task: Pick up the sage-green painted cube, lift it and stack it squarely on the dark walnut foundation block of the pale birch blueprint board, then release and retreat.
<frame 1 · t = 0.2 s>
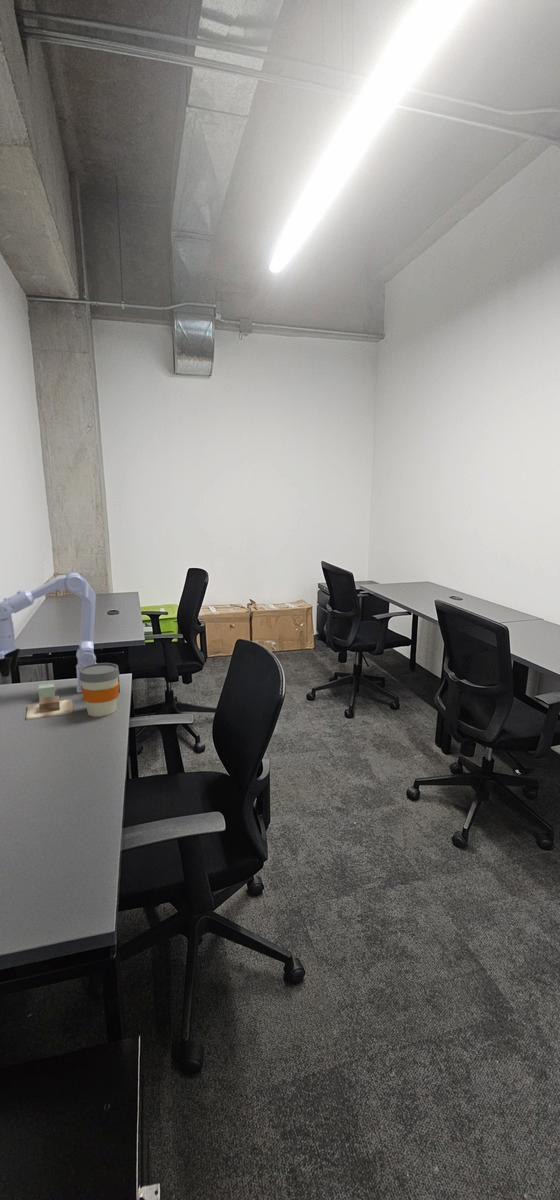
hand: (9, 672, 178), 10 cm above the table, tool pointing down, fingers open, 7 cm apart
box: (107, 695, 184), on the table
sage cube: (47, 698, 181), on the table
baseplate: (50, 710, 170), on the table
reusable coffee cup: (101, 711, 170), on the table
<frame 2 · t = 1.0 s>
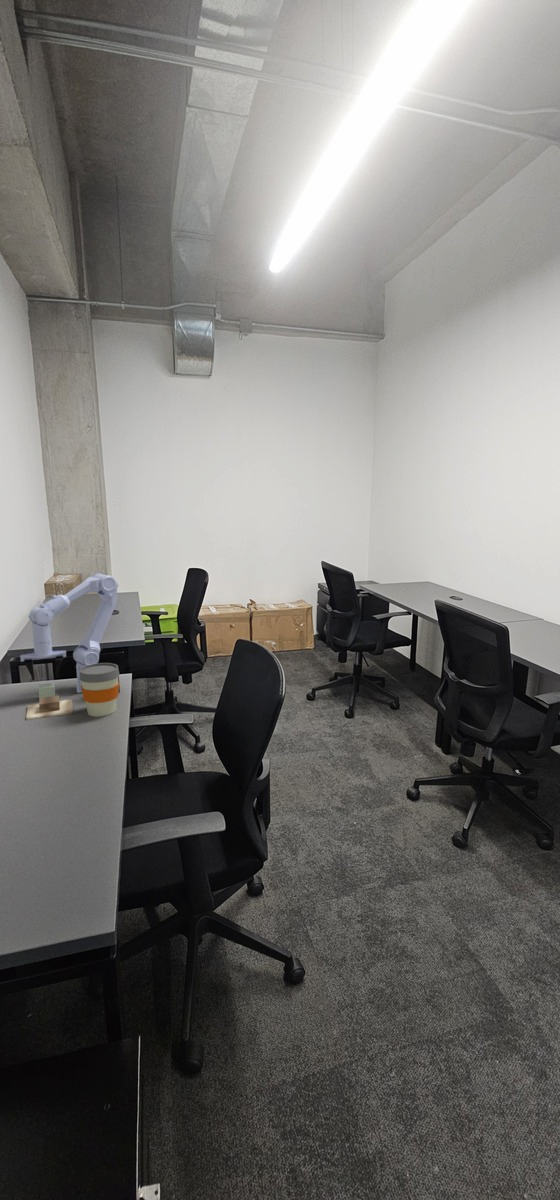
hand: (45, 678, 180), 8 cm above the table, tool pointing down, fingers open, 7 cm apart
nothing on the table moved.
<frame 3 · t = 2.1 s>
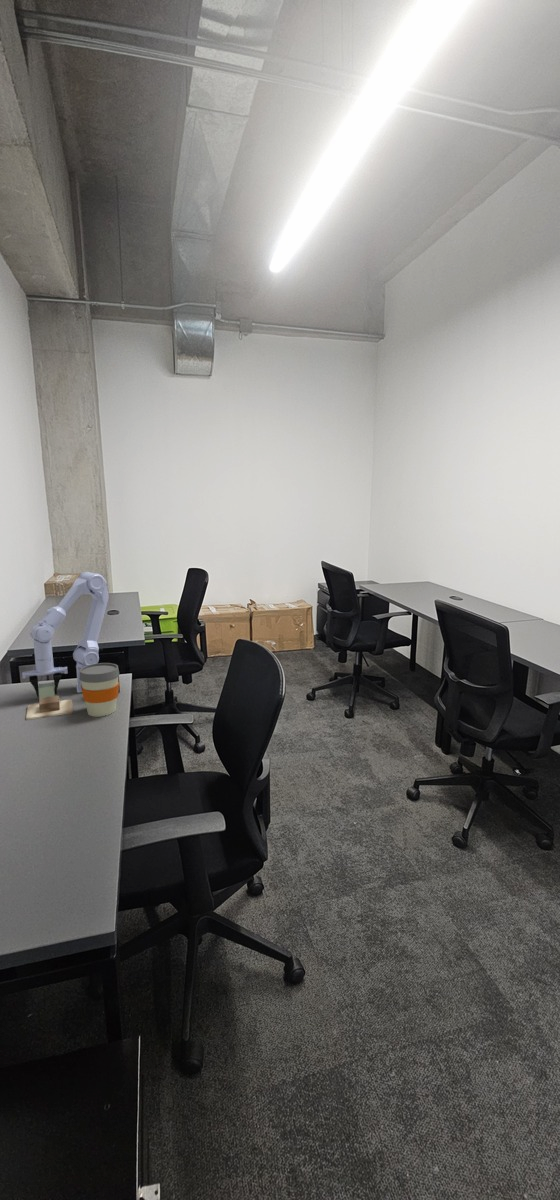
hand: (47, 694, 181), 1 cm above the table, tool pointing down, fingers closed on sage cube, 5 cm apart
sage cube: (47, 698, 181), on the table, touching gripper
everything else where it was.
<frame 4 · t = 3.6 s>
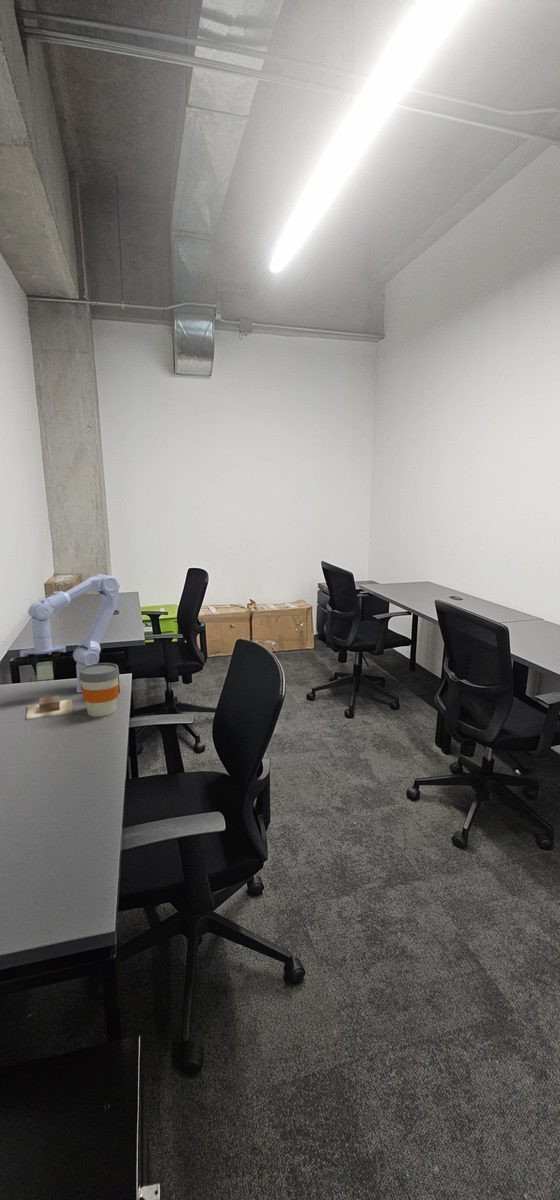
hand: (45, 673, 179), 9 cm above the table, tool pointing down, fingers closed on sage cube, 5 cm apart
sage cube: (45, 677, 179), point 8 cm above the table, touching gripper
everything else where it was.
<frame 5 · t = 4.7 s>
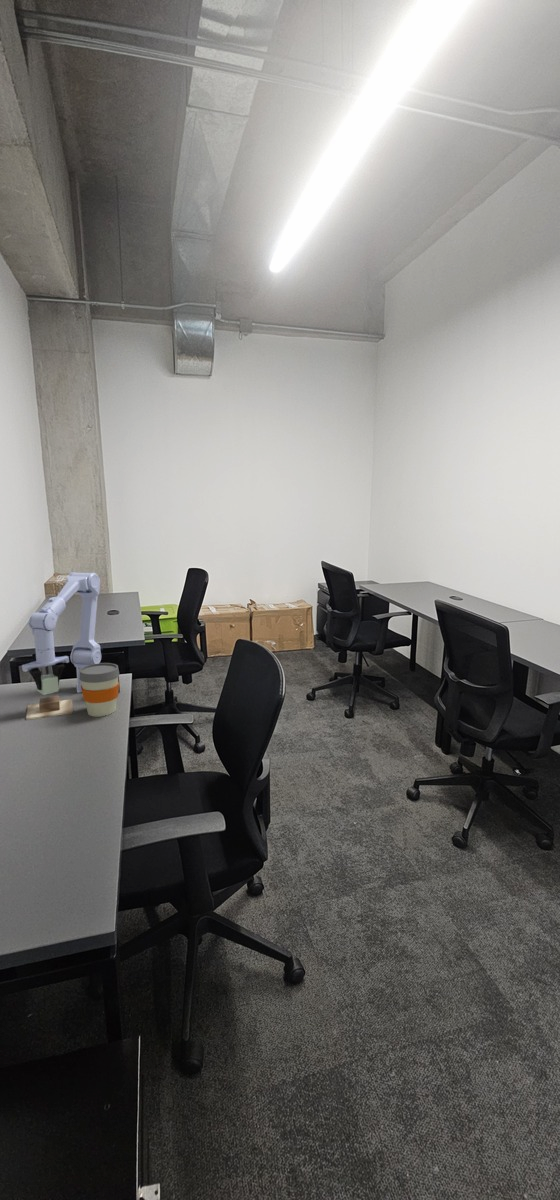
hand: (48, 687, 169), 8 cm above the table, tool pointing down, fingers closed on sage cube, 5 cm apart
sage cube: (48, 691, 169), point 7 cm above the table, touching gripper
everything else where it was.
when the fingers open (6 cm above the table, at t = 5.5 s): sage cube drops 1 cm, resting on baseplate.
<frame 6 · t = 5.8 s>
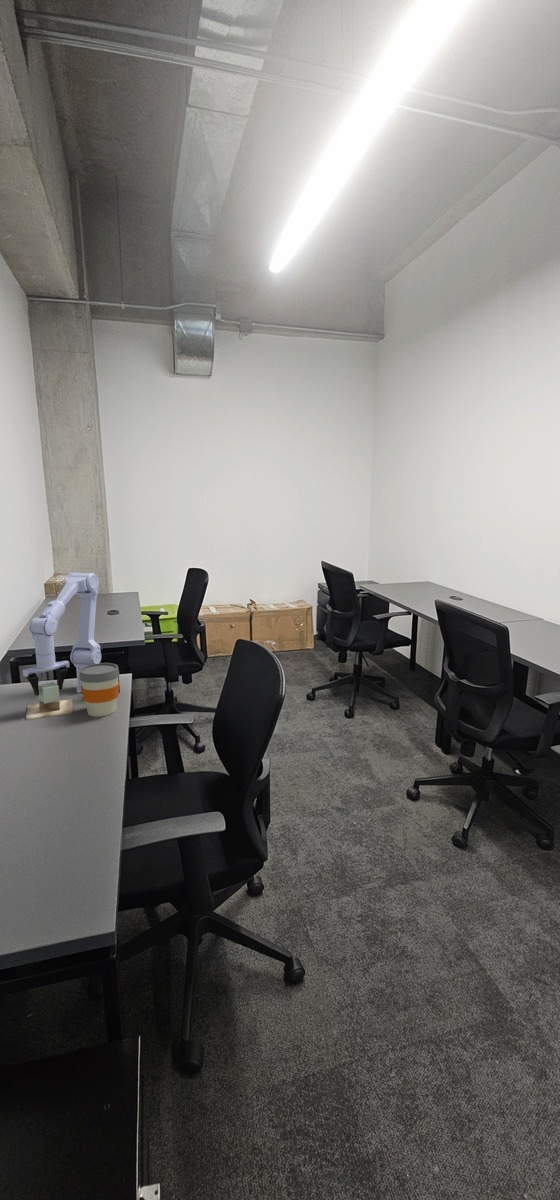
hand: (48, 692, 169), 6 cm above the table, tool pointing down, fingers open, 7 cm apart
sage cube: (49, 699, 170), point 4 cm above the table, touching baseplate
everything else where it was.
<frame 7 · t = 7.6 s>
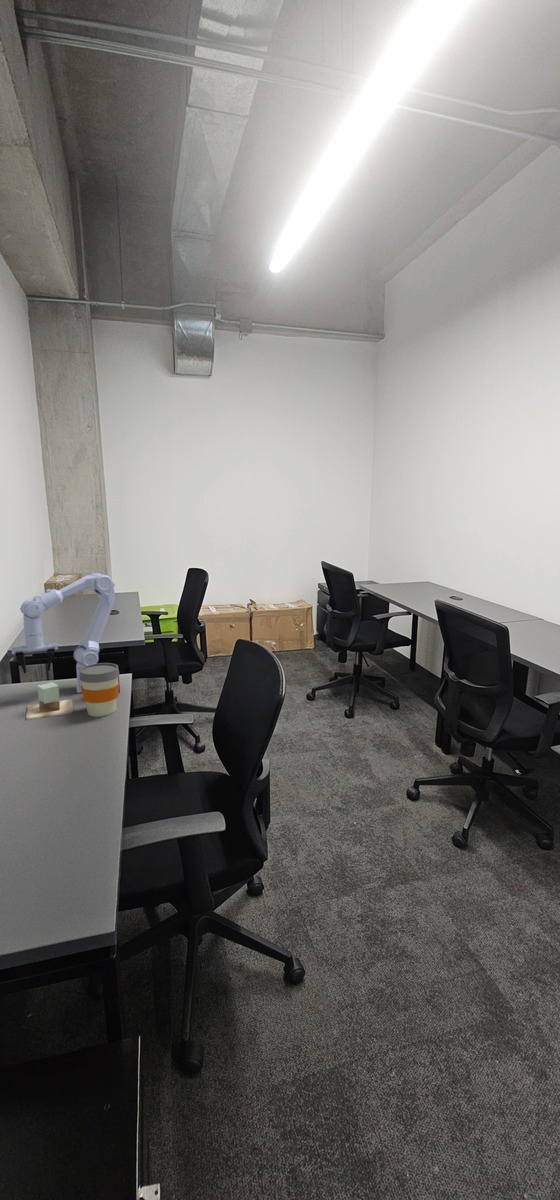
hand: (37, 671, 178), 10 cm above the table, tool pointing down, fingers open, 7 cm apart
nothing on the table moved.
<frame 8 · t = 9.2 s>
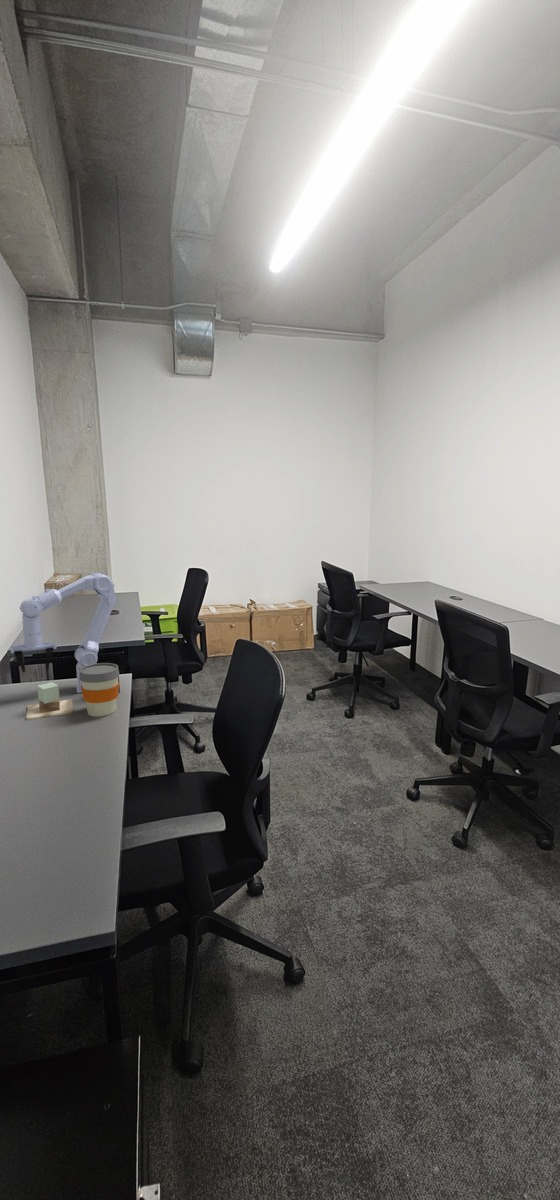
hand: (35, 670, 180), 10 cm above the table, tool pointing down, fingers open, 7 cm apart
nothing on the table moved.
at the end: sage cube 0.2 cm off-centre on the baseplate, point 3.6 cm above the baseplate's base; sage cube tilted 0°; the gripper is holding nothing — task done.
